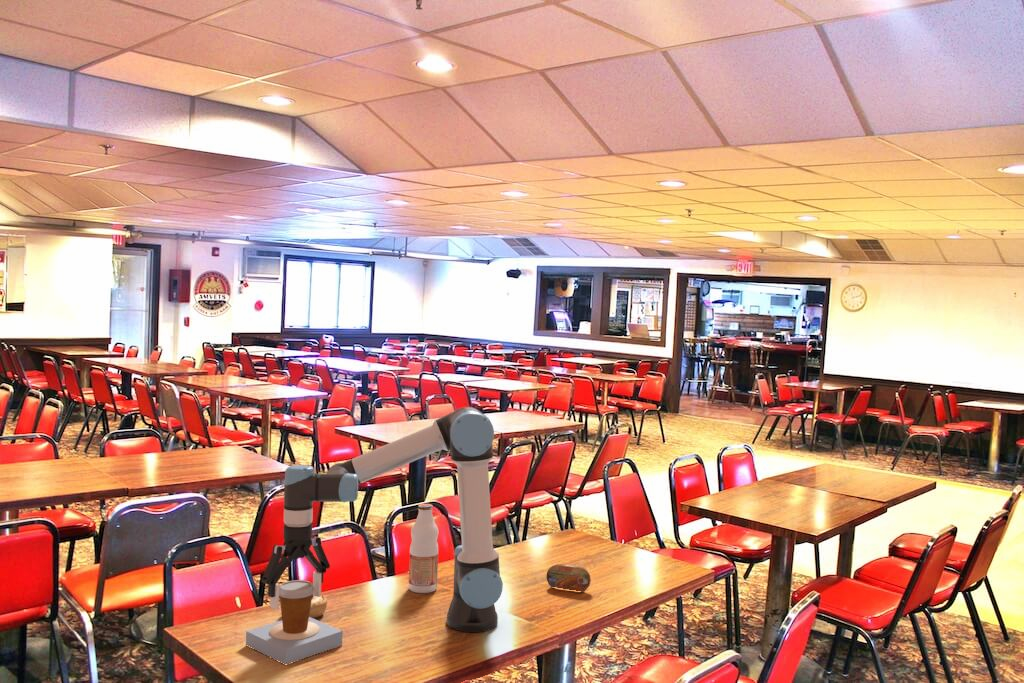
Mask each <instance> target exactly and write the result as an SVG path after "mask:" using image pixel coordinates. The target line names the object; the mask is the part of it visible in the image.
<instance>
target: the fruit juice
mask: <svg viewBox="0 0 1024 683" xmlns="http://www.w3.org/2000/svg"><path fill="white" fill-rule="evenodd" d="M433 509H434V506H433V504H431V503H419V504H418V505H417V510H418V514H417V517H416V520H415V522H414V523H413V525H412V527H411V530H410V536H411V543H410V546H409V566H408V567H409V568H408V573H409V574H408V589H409V591H410V592H412V593H416V594H429V593H430V594H431V593H433V592H435V591H436V590H437V588H438V570H439V543H438V537H439V528H438V525H437V523H436V522H435V519H434V516H433Z"/></svg>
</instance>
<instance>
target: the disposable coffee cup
mask: <svg viewBox="0 0 1024 683" xmlns="http://www.w3.org/2000/svg"><path fill="white" fill-rule="evenodd" d="M313 592H314V587H313V582H311V581H308V580H302V579H301V580H300V579H298V580H297V579H296V580H289V581H284V582H282V583H281V584H279V602H280V610H281V620H282V623H283V631H284V632H286V633H290V634H296V633H302V632H304V631H306V630H307V626H308V620H309V613H310V607H311V600H312V594H313Z"/></svg>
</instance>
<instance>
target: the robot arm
mask: <svg viewBox="0 0 1024 683" xmlns="http://www.w3.org/2000/svg"><path fill="white" fill-rule="evenodd" d="M494 437H495V430H494V426H493V423H492V422H491V420H490V419H489V417H488V416H487V415H486V414H484V413H483V412H482V411H480V410H479V409H478V408H475V407H473V406H464V407H459V408H457V409H456V410H453V411H452V412H449V413H447V414H446V415H444V416H441V417H440V418H438V419H435V420H434V421H433V423H432V424H431V425H430V426H427V427H425V428H423V429H419V430H418V431H415V432H413V433H411V434H409V435H405V436H404V437H401V438H399V439H396V440H394V441H392V442H391V441H390V442H389V443H386V444H385V445H382V446H380V447H377V448H375V449H372V450H370V451H368V452H366V453H363V454H361V455H358V456H356V457H353V458H352V459H349V460H347V461H343V462H337V463H335V464H333V465H331V467H330V468H329V469H328V470H327V472H326V473H315V471H314V467H313V466H311V465H306V464H305V465H304V464H295V465H290V466H288V467H287V468H286V469H285V472H284V474H285V475H284V483H283V523H284V525H283V528H282V529H283V532H282V534H283V535H282V537H283V544H282V545H277V544H274V545H273V547H272V553H271V556H270V558H269V561H268V563H267V566H266V568H265V571H264V572H263V576H262V578H261V583H262V584H265V585H267V586H268V587H267V589H268V590H267V596H268V597H269V598H270V599H269V602H270V603H269V608H271V609H273V610H275V611H278V610H279V606H280V605H279V602H280V595H279V588H280V584H279V583H278V581H279V580H280V579H281V578H282V576H283V574H284V572H285V570H286V569H287V568H288V566H289V565H290V563H292V562H293V560H294V561H295V560H299V559H302V558H303V559H304V558H306V560H307V561H308V562H309V563H310V565H311V566H312V567H313V568H314V569H315V570H316V571H313V572H312V574H313V575H312V584H313V587H314V592H313V595H314V596H317V597H321V595H322V584H323V583H324V574H326V573H327V570H328V569H330V567H331V566H330V562H329V560H328V558H327V554H325V551H324V548H323V546H322V538H321V537H319V536H314V535H313V524H312V522H313V520H314V518H313V516H314V515H313V513H314V510H313V508H314V505H313V502H316V503H319V502H323V503H325V502H328V503H329V502H331V503H332V502H333V503H337V502H339V503H340V502H341V503H347V502H355V501H357V500H358V496H359V485H361V484H363V483H365V482H368V481H370V480H373V479H375V478H377V477H380V476H381V475H384V474H386V473H389V472H392V471H394V470H396V469H399V468H402V467H404V466H405V465H408V464H411V463H413V462H416V461H417V460H419V459H422V458H424V457H427V456H429V455H432V454H434V453H436V452H439V451H441V450H444V451H447V452H448V451H450V459H451V460H450V461H451V462H452V463H454V464H455V465H456V467H457V468H456V469H457V485H458V503H459V521H460V534H461V536H460V537H461V544H459V545H458V546H456V547H455V549H454V555H453V557H454V563H453V564H454V567H453V568H454V569H453V594H452V595H453V596H452V599H451V602H450V604H449V608H448V611H447V613H446V620H445V621H446V624H447V626H448V627H449V628H451V629H453V630H456V631H460V632H465V633H480V632H486V631H489V630H492V629H494V628H496V627H497V625H498V621H499V618H498V613H497V610H496V607H495V603H497V601H499V599H500V598H501V596H502V592H503V584H504V583H503V579H502V577H501V575H500V557H499V553H498V551H496V550H495V549H494V545H493V528H492V515H491V514H492V511H491V510H492V509H491V495H490V477H489V476H490V475H489V463H490V462H491V461H492V459H493V458H494V452H493V450H494V448H493V442H494ZM311 546H312V548H313V550H314V552H315V555H316V556H315V555H314V553H313V552H312V551H311ZM316 557H317V558H316Z"/></svg>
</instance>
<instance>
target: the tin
mask: <svg viewBox="0 0 1024 683" xmlns="http://www.w3.org/2000/svg"><path fill="white" fill-rule="evenodd" d="M546 582H547V583H548V585H549V587H550V588H552V587H557V588H563V589H569V590H576V591H581V592H582V593H584V592H586V590H588V589H589V587H590V585H591V582H592V580H591V575H590V572H589V571H588V570H587V569H586V568H584V567H583V566H577V565H567V564H561V563H560V564H559V563H558V564H554V565H552V566H550V567H549V568H548V569H547V571H546Z"/></svg>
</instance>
